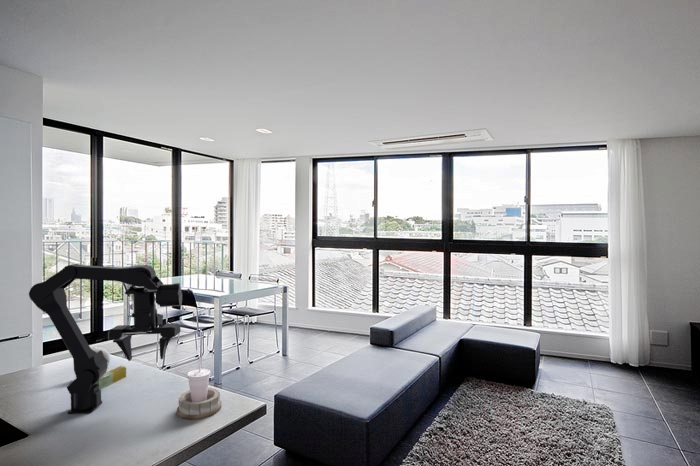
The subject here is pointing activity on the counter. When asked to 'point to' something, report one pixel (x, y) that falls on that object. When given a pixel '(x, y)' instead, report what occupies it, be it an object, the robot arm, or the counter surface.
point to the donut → (103, 353)
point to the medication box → (112, 377)
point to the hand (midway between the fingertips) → (146, 359)
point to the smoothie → (199, 383)
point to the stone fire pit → (199, 405)
